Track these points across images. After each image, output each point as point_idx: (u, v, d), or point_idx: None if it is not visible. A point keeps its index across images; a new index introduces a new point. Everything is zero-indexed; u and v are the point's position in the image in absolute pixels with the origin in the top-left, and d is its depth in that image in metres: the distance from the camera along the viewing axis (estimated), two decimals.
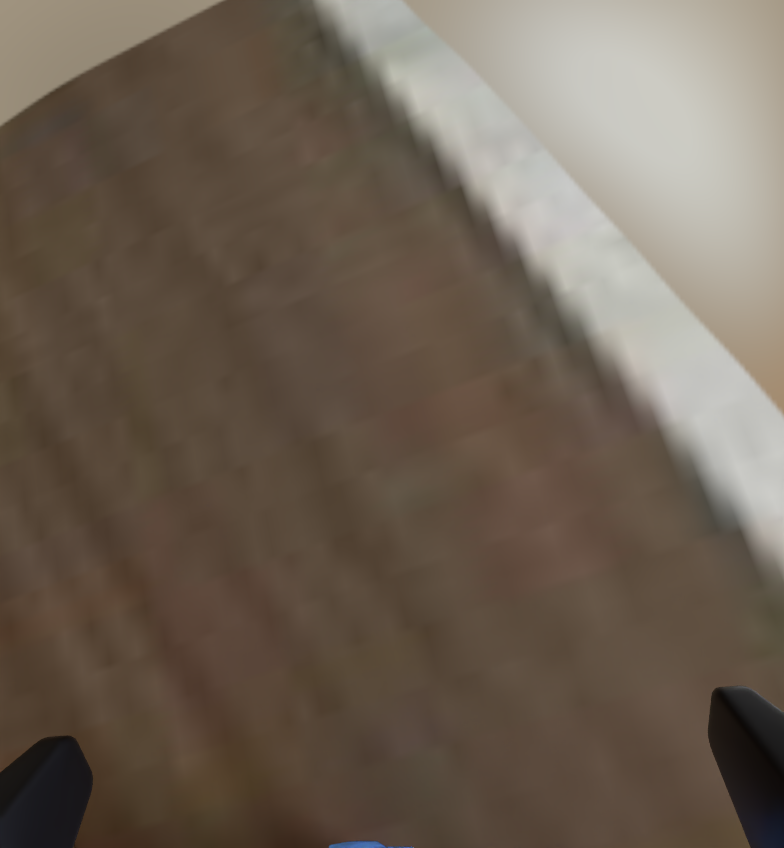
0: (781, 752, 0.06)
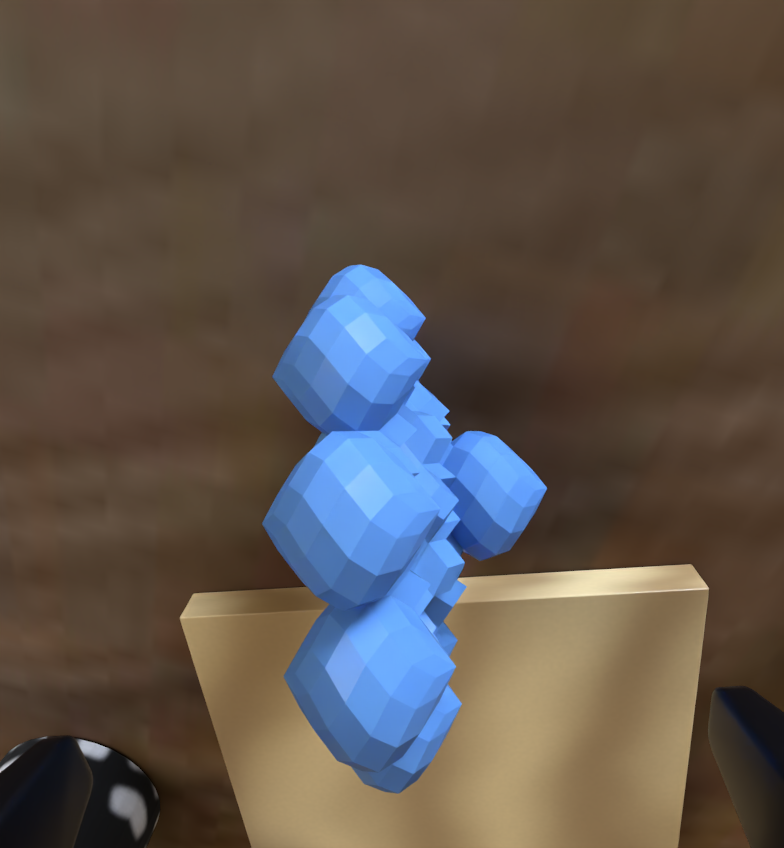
0: (781, 752, 0.06)
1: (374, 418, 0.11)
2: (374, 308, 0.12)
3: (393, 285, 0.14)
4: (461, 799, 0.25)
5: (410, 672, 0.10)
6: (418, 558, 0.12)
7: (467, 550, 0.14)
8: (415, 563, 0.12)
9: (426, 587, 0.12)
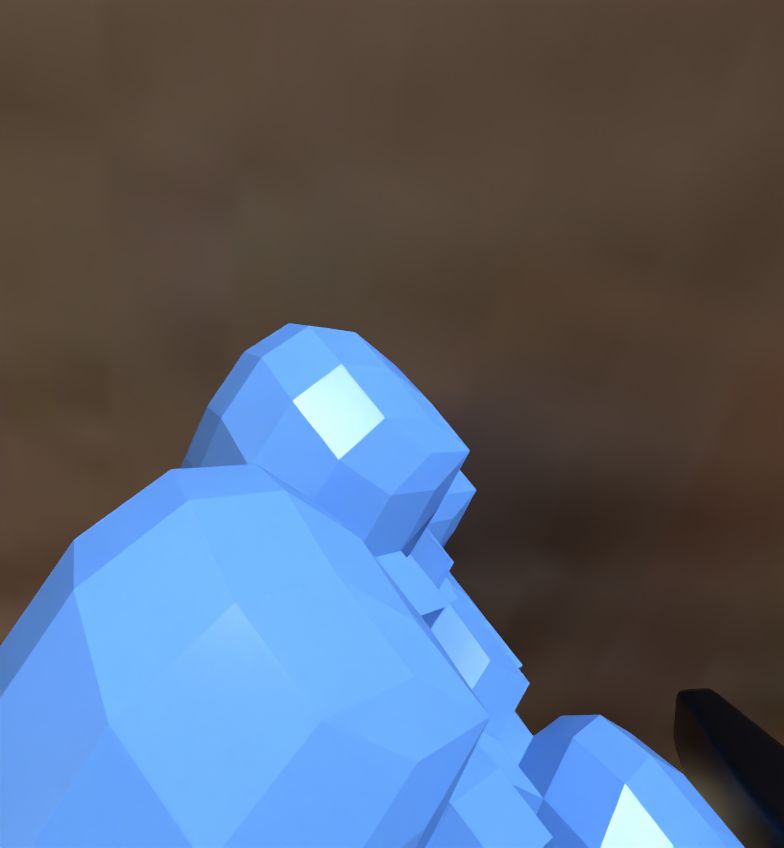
0: (738, 755, 0.06)
1: None
2: (293, 540, 0.03)
3: (389, 376, 0.06)
4: None
5: None
6: None
7: None
8: None
9: None
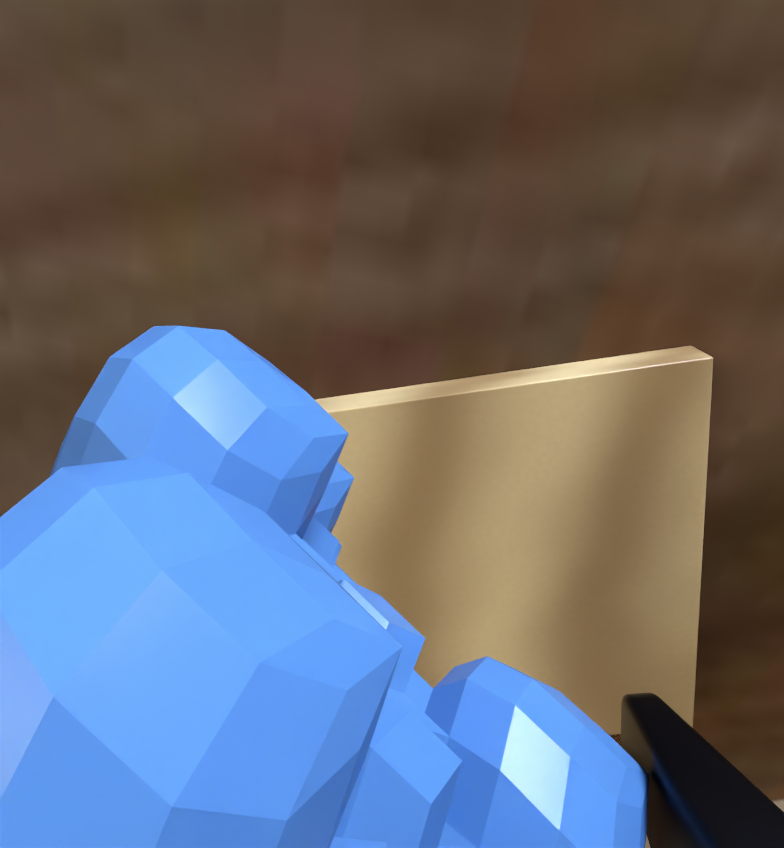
0: (672, 760, 0.06)
1: None
2: (205, 514, 0.03)
3: (265, 369, 0.06)
4: (446, 658, 0.22)
5: None
6: None
7: None
8: None
9: None
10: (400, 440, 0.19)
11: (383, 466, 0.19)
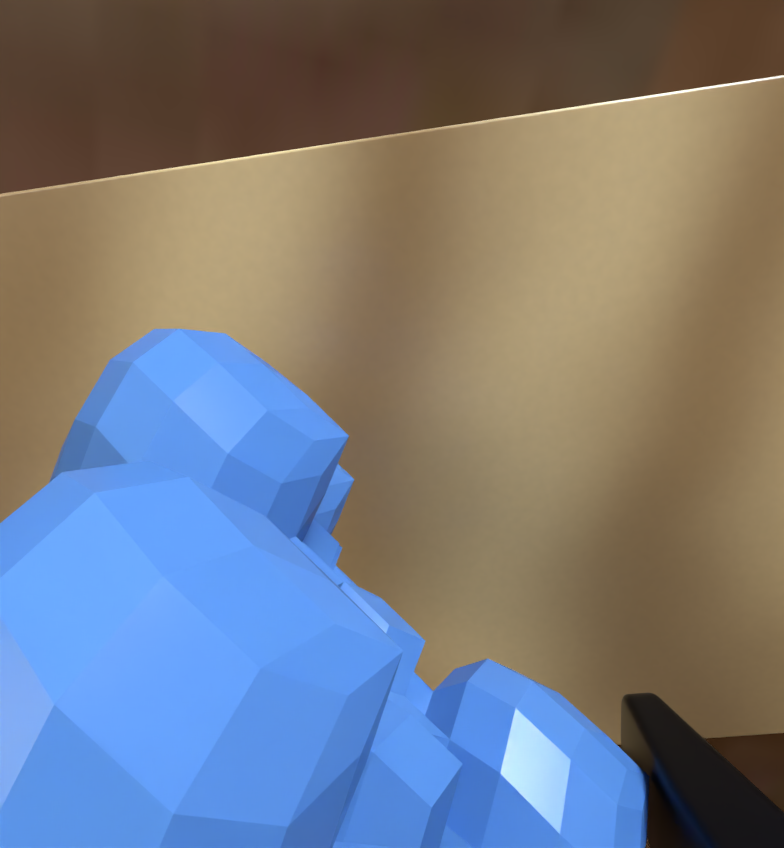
0: (672, 759, 0.06)
1: None
2: (206, 519, 0.03)
3: (266, 372, 0.06)
4: (416, 617, 0.14)
5: None
6: None
7: None
8: None
9: None
10: (341, 222, 0.11)
11: (312, 274, 0.11)
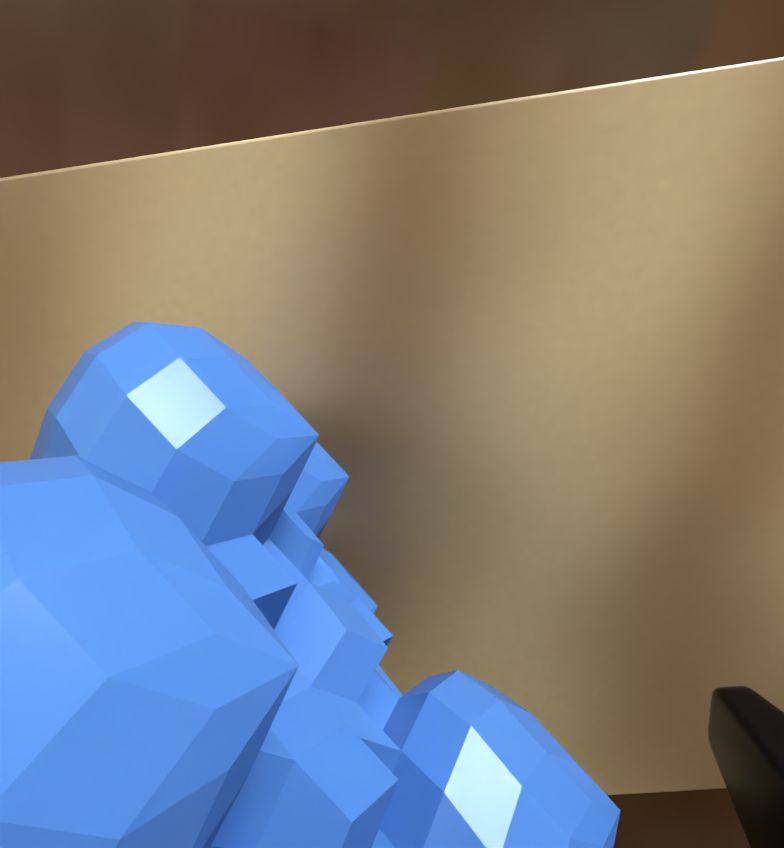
0: (781, 752, 0.06)
1: None
2: (94, 519, 0.03)
3: (233, 368, 0.06)
4: (424, 657, 0.13)
5: None
6: None
7: None
8: None
9: None
10: (341, 219, 0.09)
11: (307, 277, 0.10)
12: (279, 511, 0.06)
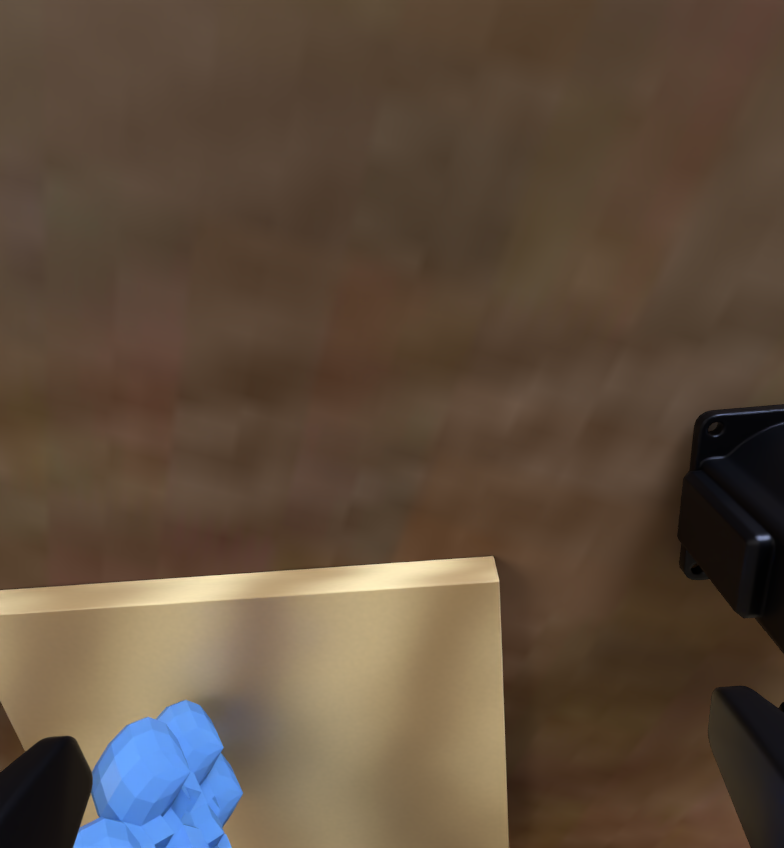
0: (781, 752, 0.06)
1: None
2: None
3: (160, 753, 0.18)
4: (282, 801, 0.24)
5: None
6: None
7: None
8: None
9: None
10: (228, 629, 0.21)
11: (214, 648, 0.21)
12: (173, 800, 0.18)
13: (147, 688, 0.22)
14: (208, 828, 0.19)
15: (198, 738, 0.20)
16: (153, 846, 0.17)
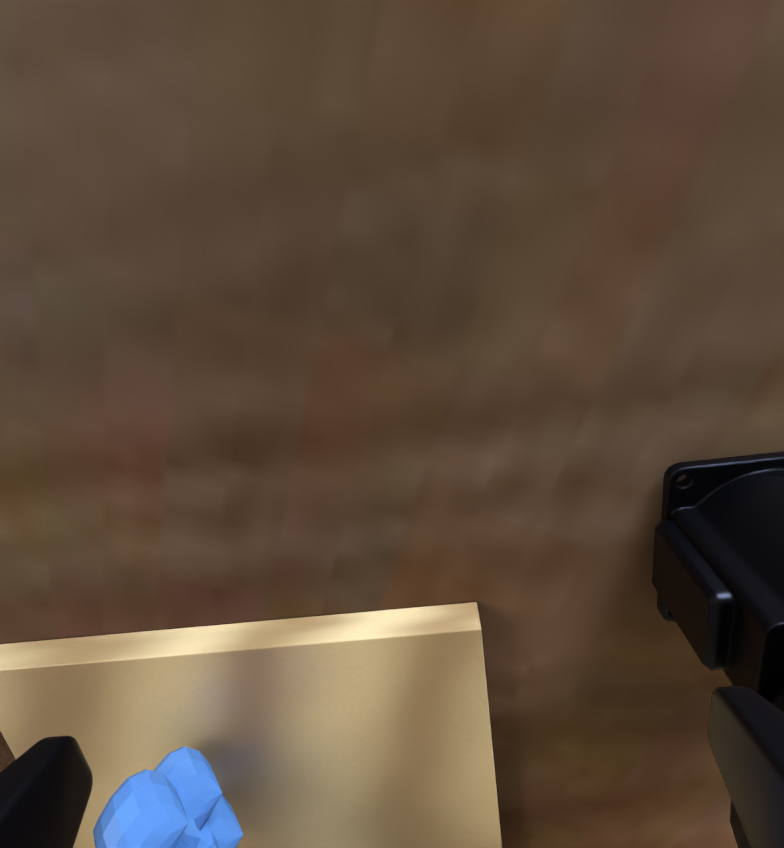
0: (781, 752, 0.06)
1: None
2: None
3: (158, 806, 0.18)
4: (283, 837, 0.25)
5: None
6: None
7: None
8: None
9: None
10: (224, 678, 0.22)
11: (211, 696, 0.22)
12: None
13: (149, 735, 0.23)
14: None
15: (197, 785, 0.21)
16: None
